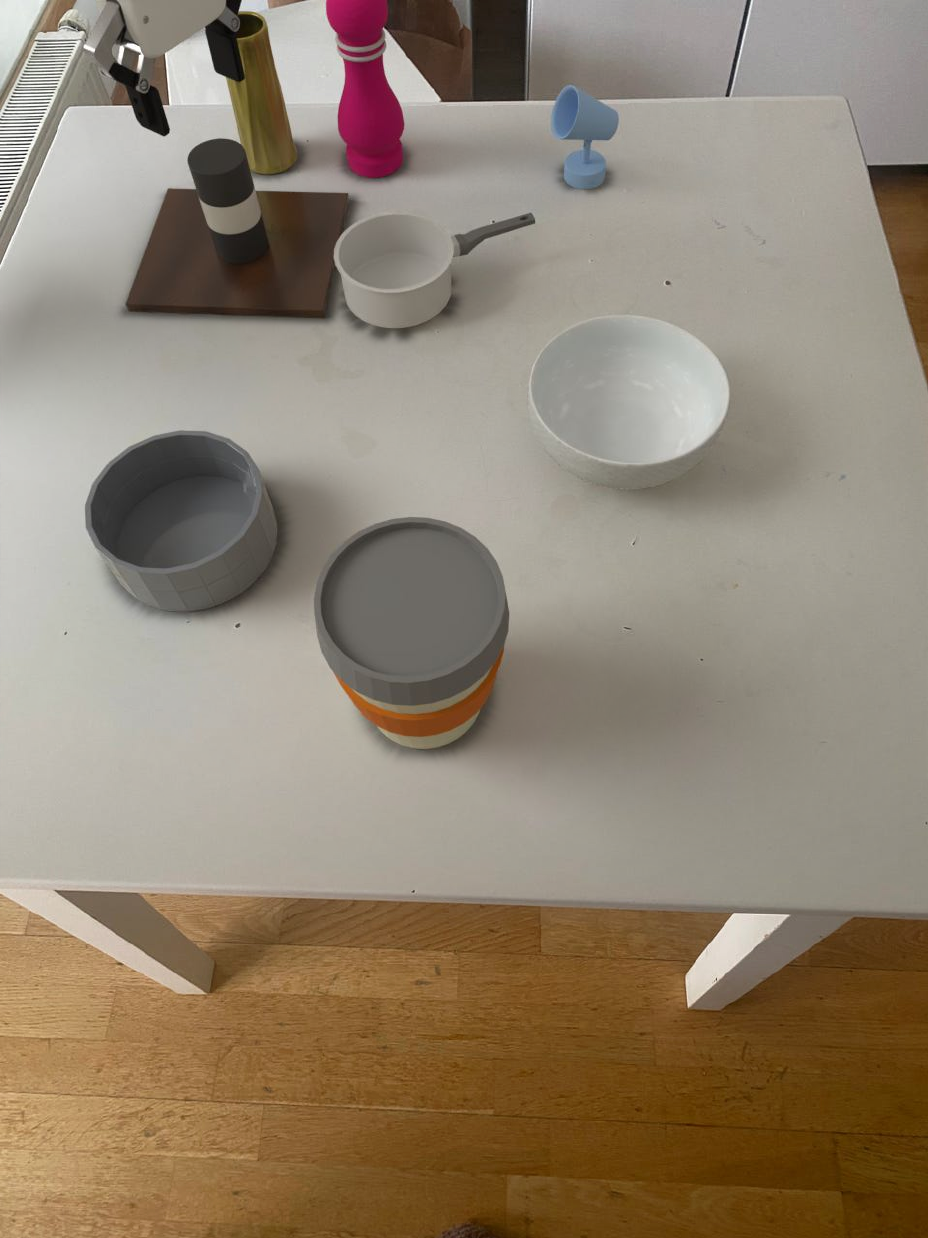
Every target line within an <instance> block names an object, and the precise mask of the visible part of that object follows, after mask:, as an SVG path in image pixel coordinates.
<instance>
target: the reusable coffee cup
mask: <svg viewBox="0 0 928 1238" xmlns="http://www.w3.org/2000/svg"><path fill="white" fill-rule="evenodd" d="M315 583H316V584H315V588H314V595H313V609H314V610H313V613H314V614H313V615H314V621H315V630H316V637H317V640H318V644H319V649H320V651H321V654H322V656H323V658H324V660H325V661H326V663H327V665H328V667H329V669H331V671H332V672H333V674H334V676H335V678H336V680H337V682H338V684H339V685H340V687H341V688H342V690H343V691H344V692H345V694H346V695H347V696H348V698H349V699H350V701H351V702H352V704H353V705H354V706H355V708H356V709H357V710H358V711H359V712H360V714H361V715H363V717H364V718H365V719H366V720H368V721H369V722H371V723H372V724H373V725H375V726H376V727H377V729H378V730H379V731H380V732H381V733H382V735H384V736H385V737H387V738H388V739H389V740H391V741H392V742H393V743H396V744H398V745H400V746H404V747H407V748H411V749H416V750H428V749H436V748H440V747H443V746H447V745H449V744H451V743H453V742H454V741H456V740H459V739H460V738H461V737H462V736H463V735H465V734H466V733H467V732H468V731H469V730H470V728H471V727H473V725H474V723H475V722H476V720H477V719H478V716H479V715H480V711H481V708H483V706H484V705H485V704H486V702H487V700H488V698H489V696H490V695H491V693H492V691H493V688H494V685H495V681H496V680H497V675H498V672H499V670H500V665H501V662H502V659H503V656H504V652H505V643H506V641H507V637H508V633H509V629H510V609H509V603H508V597H507V591H506V586H505V580H504V576H503V574H502V571H501V568H500V566H499V564H498V561H497V560H496V558H495V557H494V555H493V554H492V553H491V551H490V549H489V548H488V547H487V546H486V545H485V544H483V542H481V540H480V539H478V537H477V536H475V535H473V534H472V533H470V532H469V531H467V530H465V529H464V528H462V527H461V526H458V525H455V524H452V523H450V522H448V521H446V520H440V519H436V518H431V517H423V516H422V517H421V516H420V517H419V516H406V517H405V516H404V517H397V518H396V517H395V518H391V519H388V520H387V519H386V520H383V521H380V522H376V523H374V524H372V525H369V526H367V527H365V528H362V529H361V530H359V531H357V532H355V533H354V534H353V535H352V536H350V537H349V538H347V539H346V540H344V541H343V542H342V543H341V544H340V545H339V546H338V547H337V548H336V549H335V550H334V551H333V552H332V553H331V555H330V557H329V558H328V559H327V561H326V562H325V563H324V565H323V567H322V568H321V571H320V573H319V576H318V578H317V580H316V582H315Z"/></svg>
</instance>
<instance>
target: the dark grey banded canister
mask: <svg viewBox="0 0 928 1238" xmlns="http://www.w3.org/2000/svg"><path fill="white" fill-rule="evenodd" d="M186 161H187V165H188V168H189V171H190V175H191V178H192V180H193V181H192V182H193V184H194V187H195V189H196V190H197V194H198V197H199V200H200V203H201V206H202V209H203V212H204V215H205V219H206V222H207V225H208V228H209V231H210V234H211V237H212V240H213V244H214V247H215V250H216V253H217V255H218V256H219V257H220V258H221V259H222V260H224V261H226V262H229V263H233V264H244V263H249V262H252V261H254V260H256V259H258V258H260V257H261V256H262V255H263V254H264V253H265V252H266V250H267V249H268V245H269V241H268V237H267V233H266V229H265V225H264V222H263V218H262V214H261V210H260V206H259V202H258V198H257V194H256V191H257V190H256V187H255V183H254V179H253V175H252V171H251V170H250V167H249V163H248V159H247V155H246V151H245V149H244V147H243V146H242V145H241V143H240V142H238V141H236V140H234V139H230V138H220V137H219V138H213V139H212V138H211V139H208V140H205V141H202V142H200V143H199V144H197V145H196V146H194V147H193V148H192V149H191V150H190V151H189V154H188V155H187V160H186Z"/></svg>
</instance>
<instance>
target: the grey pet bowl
mask: <svg viewBox="0 0 928 1238" xmlns="http://www.w3.org/2000/svg"><path fill="white" fill-rule="evenodd" d="M275 515H276V513H275V509H274V507H273V504H272V501H271V499H270V496H269V493H268V490H267V487H266V485H265V482H264V479H263V477H262V474H261V470H260V469H259V467H258V465H257V464H256V462H255V461H254V460H253V458H252V456H251V454H250V453H249V452H248V451H247V450H246V449H245V448H243V447H241V446H240V445H239V444H237V443H236V442H235V441H233V440H232V439H231V438H228V437H225V436H222V435H220V434H216V433H213V432H210V431H206V430H185V429H184V430H183V429H182V430H181V429H180V430H175V431H169V432H165V433H160V434H154V435H151V436H150V437H147V438H145V439H143V440H141V441H138V442H137V443H134V444H132V445H129V446H128V447H127V448H125V449H124V450H123V451H121V452H120V453H119V454H117V455H116V456H115V457H114V458H113V459H111V460H109V462H108V463H107V464H106V465H105V466H104V467H103V469H102V470H101V471H100V472H99V474H98V476H97V477H96V478H95V479H94V480H93V482H92V484H91V487H90V489H89V493H88V495H87V498H86V501H85V503H84V517H85V518H84V519H85V520H84V521H85V523H84V524H85V530H86V532H87V534H88V536H89V538H90V540H91V542H92V544H93V547H94V548H95V549H96V551H97V552H98V554H99V556H100V557H101V558H102V560H103V561H104V562H105V564H106V565H107V567H108V569H109V570H110V571H111V573H112V574H113V575H114V577H115V578H116V580H117V582H119V584H120V585H121V586H122V587H123V588H124V589H125V590H126V591H127V592H128V593H129V594H130V595H131V596H133V597H134V598H135V599H136V600H137V601H140V602H141V603H143V604H145V605H147V606H150V607H152V608H155V609H158V610H163V611H167V612H177V613H178V612H179V613H183V612H185V613H187V612H188V613H189V612H197V611H202V610H206V609H210V608H213V607H214V608H215V607H216V606H219V605H222V604H224V603H227V602H229V601H230V600H232V599H234V598H236V597H237V596H239V595H241V594H242V593H244V591H246V590H247V589H249V587H251V586H252V585H253V584H254V583H255V582H256V581H257V580H258V579H259V578H260V576H261V575H262V574H263V573H264V572H265V570H266V569H267V567H268V566H269V564H270V562H271V560H272V558H273V555H274V553H275V550H276V547H277V541H278V524H277V519H276V516H275Z"/></svg>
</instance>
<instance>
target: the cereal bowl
mask: <svg viewBox="0 0 928 1238" xmlns="http://www.w3.org/2000/svg"><path fill="white" fill-rule="evenodd" d="M527 391H528V392H527V399H528V400H527V406H528V414H529V419H530V423H531V426H532V429H533V432H534V435H535V437H536V439H537V440H538V443H539V444H540V445H541V446H542V448H543V450H544V451H545V453H546V454H548V456H549V457H550V459H552V460H553V461H554V463H556V464H557V465H558V466H560V467H561V468H562V469H563V470H565V471H566V472H568V473H569V474H571V475H573V476H575V477H577V478H578V479H581V480H583V481H585V482H587V483H591V484H593V485H596V486H601V487H604V488H608V489H610V488H611V489H617V490H621V489H622V490H638V489H639V490H641V489H644V488H645V489H648V488H652V487H658V486H661V485H664V484H666V483H669V482H670V481H674V480H676V479H678V478H679V477H681V476H683V475H685V474H686V473H688V472H690V471H691V470H692V469H694V468H695V466H697V465H698V464H699V463H700V462H701V461H702V460H703V459H704V458H705V457H706V455H707V454H708V453H710V451H711V449H712V447H713V446H714V444H715V443H716V441H717V439H718V438H719V436H720V433H721V431H722V430H723V426H724V424H725V422H726V419H727V417H728V412H729V410H730V402H731V386H730V381H729V377H728V374H727V371H726V369H725V367H724V366H723V364H722V362H721V360H720V359H719V358H718V356H717V355H716V354H715V352H714V351H713V350H712V349H711V348H710V347H709V346H708V345H707V344H706V343H704V342H703V340H701V339H699V338H698V337H697V336H695V335H694V334H692V333H691V332H689V331H687V330H686V329H684V328H682V327H680V326H678V325H676V324H673V323H671V322H668V321H665V320H662V319H659V318H655V317H650V316H644V315H636V314H610V315H609V314H608V315H604V316H597V317H593V318H589V319H586V320H583V321H580V322H577V323H575V324H573V325H571V326H569V327H567V328H565V329H564V330H562V331H561V332H559V333H558V334H556V335H555V336H554V337H552V339H551V340H549V341H548V342H547V343H546V345H545V346H543V348H542V349H541V351H540V352H539V353H538V355H537V357H536V358H535V361H534V362H533V365H532V367H531V370H530V374H529V378H528V385H527Z"/></svg>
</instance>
